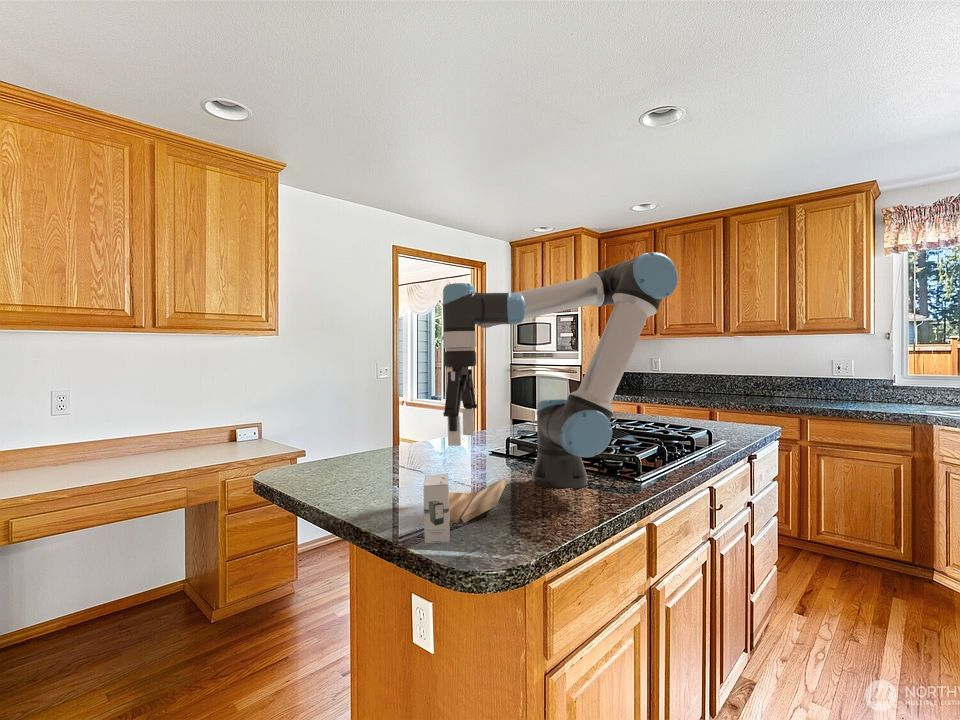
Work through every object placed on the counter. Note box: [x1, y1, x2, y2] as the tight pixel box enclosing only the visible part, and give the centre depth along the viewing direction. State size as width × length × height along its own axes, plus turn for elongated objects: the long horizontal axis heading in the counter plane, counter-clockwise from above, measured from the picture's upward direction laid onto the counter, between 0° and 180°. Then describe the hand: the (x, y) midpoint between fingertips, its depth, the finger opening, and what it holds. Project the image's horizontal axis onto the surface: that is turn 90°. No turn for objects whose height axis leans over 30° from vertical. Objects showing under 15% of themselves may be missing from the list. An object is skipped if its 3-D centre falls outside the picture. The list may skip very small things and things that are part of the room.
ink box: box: [423, 473, 451, 544], centre depth 99 cm, size 9×5×12 cm, turn 5°
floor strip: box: [449, 491, 478, 524], centre depth 116 cm, size 7×20×1 cm, turn 170°
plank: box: [461, 477, 508, 523], centre depth 114 cm, size 8×19×1 cm
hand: (462, 440), depth 118 cm, fingers open, 13 cm apart
